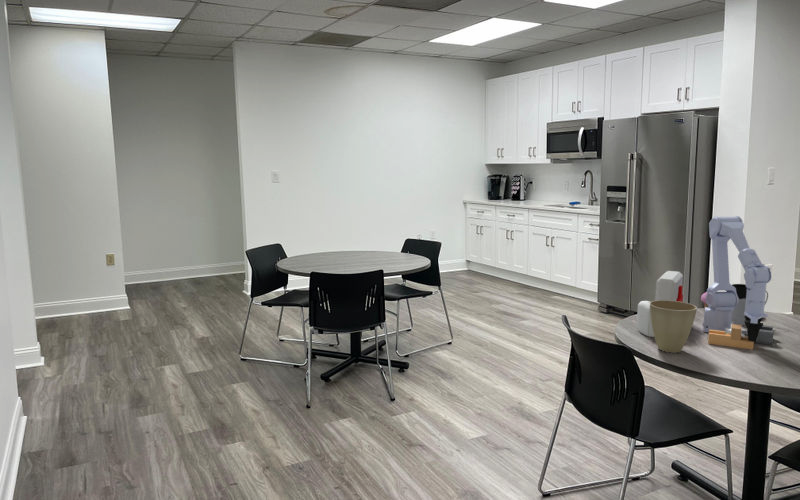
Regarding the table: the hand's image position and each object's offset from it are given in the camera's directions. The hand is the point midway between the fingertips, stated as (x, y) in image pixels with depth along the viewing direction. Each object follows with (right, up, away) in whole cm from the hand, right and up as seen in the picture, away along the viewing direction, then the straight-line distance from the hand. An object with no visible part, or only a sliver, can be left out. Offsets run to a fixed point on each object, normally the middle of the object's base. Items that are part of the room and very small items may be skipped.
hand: (752, 338), depth 211 cm
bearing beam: (-7, -2, +4) cm, 8 cm away
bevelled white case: (-16, +1, +30) cm, 34 cm away
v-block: (+8, -2, +9) cm, 12 cm away
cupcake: (+9, +4, +45) cm, 46 cm away
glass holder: (+17, +2, +32) cm, 36 cm away
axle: (-3, 0, +2) cm, 4 cm away
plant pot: (-30, -4, -2) cm, 30 cm away
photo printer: (-30, -1, +17) cm, 35 cm away
